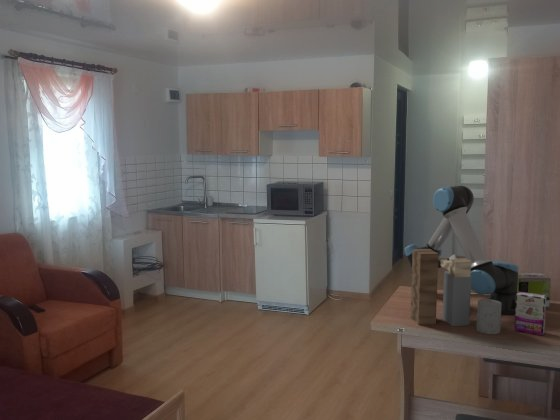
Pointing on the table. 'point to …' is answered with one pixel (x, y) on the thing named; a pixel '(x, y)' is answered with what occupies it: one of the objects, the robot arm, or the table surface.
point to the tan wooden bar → (457, 267)
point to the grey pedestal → (456, 299)
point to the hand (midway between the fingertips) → (442, 257)
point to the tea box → (534, 284)
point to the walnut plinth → (424, 286)
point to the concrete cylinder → (489, 316)
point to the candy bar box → (530, 313)
